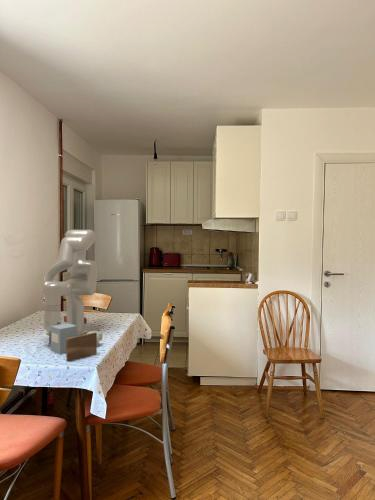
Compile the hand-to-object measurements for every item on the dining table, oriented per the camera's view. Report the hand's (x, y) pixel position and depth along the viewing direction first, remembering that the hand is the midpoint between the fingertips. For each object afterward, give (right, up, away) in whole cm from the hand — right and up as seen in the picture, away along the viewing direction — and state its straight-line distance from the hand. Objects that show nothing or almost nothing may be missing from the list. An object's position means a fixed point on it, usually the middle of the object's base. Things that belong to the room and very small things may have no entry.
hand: (53, 343), depth 185 cm
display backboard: (+20, -2, -17) cm, 26 cm away
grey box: (+8, -1, -7) cm, 10 cm away
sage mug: (+21, -1, +2) cm, 21 cm away
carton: (-6, -1, +55) cm, 55 cm away
